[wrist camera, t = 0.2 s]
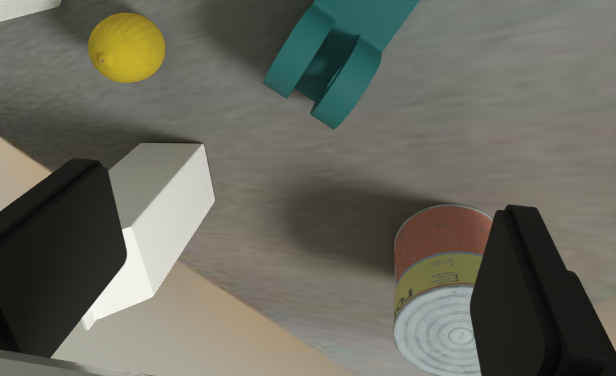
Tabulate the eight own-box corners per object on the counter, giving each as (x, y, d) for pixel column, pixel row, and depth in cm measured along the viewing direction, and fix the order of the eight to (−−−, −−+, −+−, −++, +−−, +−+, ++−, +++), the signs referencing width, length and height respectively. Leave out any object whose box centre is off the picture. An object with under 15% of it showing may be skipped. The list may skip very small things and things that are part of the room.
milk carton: (204, 142, 46) (101, 261, 30) (216, 200, 50) (129, 334, 34) (141, 141, 48) (9, 255, 31) (156, 198, 51) (46, 326, 35)
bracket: (339, 106, 42) (327, 142, 35) (278, 65, 41) (254, 94, 34) (475, -85, 33) (495, -86, 26) (401, -143, 32) (402, -160, 25)
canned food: (376, 224, 48) (371, 306, 38) (483, 188, 44) (509, 270, 33) (417, 298, 52) (422, 390, 42) (518, 272, 48) (551, 367, 38)
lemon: (110, 22, 41) (54, 42, 35) (156, -6, 39) (106, 10, 33) (145, 76, 44) (99, 105, 37) (190, 52, 42) (150, 78, 35)
